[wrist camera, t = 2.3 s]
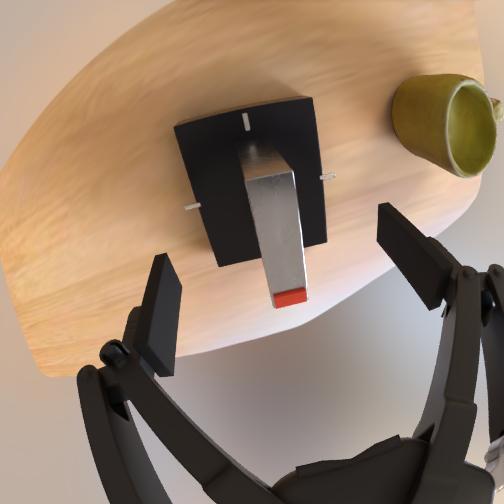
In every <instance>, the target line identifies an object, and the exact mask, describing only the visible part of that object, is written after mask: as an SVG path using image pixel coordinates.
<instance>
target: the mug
mask: <svg viewBox="0 0 504 504" xmlns="http://www.w3.org/2000/svg"><path fill="white" fill-rule="evenodd" d="M391 117H392V123H393V126H394V130H395V133H396V135H397V137H398V138H399V140H400V141H401V143H402V145H403V146H404V147H405V148H406V149H407V150H408V151H410V152H411V153H413V154H414V155H416V156H418V157H421V158H424V159H426V160H428V161H430V162H432V163H434V164H436V165H437V166H439V167H441V168H443V169H445V170H446V171H448V172H450V173H452V174H454V175H456V176H458V177H461V178H473V177H475V176H478V175H479V174H481V173H482V172H483V171H484V170H485V169H486V167H487V166H488V164H489V163H490V161H491V159H492V157H493V155H494V151H495V147H496V141H497V128H496V122H500V121H501V120H502V119H503V117H504V114H503V109H502V103H501V102H500V101H499V100H496V99H493V98H489V96H488V94H487V92H486V90H485V88H484V87H483V86H482V85H481V84H480V83H479V82H478V81H476V80H475V79H473V78H470V77H467V76H463V75H458V74H440V75H423V76H417V77H413V78H411V79H409V80H407V81H405V82H404V83H403V84H402V85H401V86H400V87H399V88H398V90H397V91H396V93H395V96H394V99H393V104H392V112H391Z"/></svg>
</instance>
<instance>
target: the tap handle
mask: <svg viewBox="0 0 504 504" xmlns="http://www.w3.org/2000/svg"><path fill="white" fill-rule="evenodd" d="M235 145H236V149H237V153H238V158H239V162H240V166H241V170H242V175H243V179H244V183H245V187H246V192H247V196H248V200H249V205H250V209H251V213H252V218H253V222H254V226H255V231H256V235H257V239H258V244H259V248H260V252H261V256H262V261H263V265H264V269H265V274H266V278H267V282H268V287H269V291H270V295H271V300H272V304H273V307H274V308H276V309H277V308H281V307H285V306H290V305H294V304H298V303H302V302H306V301H307V300H308V290H307V279H306V268H305V259H304V249H303V240H302V232H301V223H300V215H299V208H298V200H297V193H296V186H295V179H294V172H293V170H292V169H291V167H290V166H289V165H288V164H287V162H286V161H285V160H284V159H283V157H282V156H281V155H280V154H279V152H278V151H277V150H276V149H275V147H274V146H273V145H272V144H271V143H270V141H269V140H268V139H267V138H266V137H265V136H261V137H256V138H251V139H247V140H242V141H238V142H235Z"/></svg>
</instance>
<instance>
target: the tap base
mask: <svg viewBox="0 0 504 504" xmlns="http://www.w3.org/2000/svg"><path fill="white" fill-rule="evenodd" d="M173 128H174V131H175V135H176V138H177V141H178V145H179V148H180V151H181V154H182V158H183V161H184V164H185V167H186V171H187V174H188V177H189V180H190V183H191V186H192V190H193V193H194V196H195V199H196V202H197V203H194V204H191V205H187V206H184V208H185V210H189V209H193V208H197V207H198V208H199V211H200V214H201V217H202V220H203V223H204V226H205V229H206V232H207V235H208V238H209V241H210V244H211V247H212V250H213V252H214V255H215V258H216V261H217V264H218V267H222V266H227V265H231V264H236V263H240V262H244V261H249V260H253V259H258V258H262V256H261V252H260V248H259V244H258V239H257V235H256V231H255V226H254V222H253V218H252V213H251V209H250V205H249V200H248V196H247V192H246V187H245V183H244V179H243V175H242V170H241V166H240V162H239V158H238V153H237V149H236V145H235V142H238V141H242V140H247V139H251V138H256V137H261V136H265V137H266V138H267V139H268V140H269V141H270V143H271V144H272V145H273V146H274V147H275V149H276V150H277V151H278V152H279V154H280V155H281V156H282V157H283V159H284V160H285V161H286V162H287V164H288V165H289V166H290V167H291V169H292V170H293V172H294V179H295V186H296V193H297V200H298V208H299V215H300V223H301V232H302V240H303V248H305V247H310V246H314V245H318V244H322V243H327V227H326V212H325V199H324V187H323V179H327V178H333V177H335V173H330V174H325V175H322V166H321V157H320V149H319V140H318V133H317V125H316V118H315V111H314V105H313V99H312V97H307V96H297V97H290V98H283V99H277V100H271V101H265V102H259V103H254V104H249V105H244V106H239V107H235V108H230V109H226V110H222V111H218V112H214V113H210V114H206V115H202V116H198V117H195V118H191V119H188V120H184V121H181V122H178V123H177V124H176V125H175V126H174V127H173Z"/></svg>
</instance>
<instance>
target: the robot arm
mask: <svg viewBox="0 0 504 504" xmlns="http://www.w3.org/2000/svg"><path fill="white" fill-rule="evenodd" d="M377 242H378V243H379V245H380V246H381V247H382V248H383V250H384V251H385V252H386V253H387V255H388V256H389V257H390V258H391V260H392V261H393V262H394V263H395V265H396V266H397V267H398V268H399V270H400V271H401V272H402V274H403V275H404V276H405V278H406V279H407V280H408V282H409V283H410V284H411V286H412V287H413V288H414V290H415V291H416V293H417V294H418V295H419V297H420V298H421V299H422V301H423V302H424V304H425V305H426V307H427V308H428V310H429V311H430V310H433V309H435V308H438V307H440V305H441V302H442V300H443V298H444V300H445V301H446V306H445V308H444V311H443V313H442V316H441V317H443V316H444V319H443V327H442V333H441V340H440V346H439V351H438V356H437V361H436V366H435V370H434V375H433V379H432V383H431V387H430V391H429V394H428V398H427V401H426V405H425V408H424V411H423V414H422V417H421V420H420V422H419V424H418V426H417V428H416V429H415V431H414V434H413V436H412V438H409V437H406V438H400V436H399V434H398V435H396V436H394V437H391V438H389V439H386V440H384V441H381V442H379V443H376V444H374V445H373V446H371V447H370V448H368V449H367V450H365V451H363V452H362V453H360V454H359V455H357V456H355V457H353V458H351V459H343V460H327V461H319V462H315V463H311V464H306V465H302V466H297V467H296V470H295V471H293V472H291V473H289V474H287V475H285V476H284V477H283V478H281V479H280V480H279V481H278V482H276V483H275V484H274V486H273V487H272V488H271V487H270V486H268V485H267V484H266V483H265V482H263V481H262V480H260V479H259V478H258V477H256V476H255V475H254V474H252V473H251V472H249V471H248V470H247V469H245V468H244V467H243V466H242V465H241V464H239V463H238V462H237V461H236V460H235V459H233V458H232V457H231V456H230V455H229V454H227V453H226V452H225V451H224V450H223V449H222V448H221V447H220V446H218V445H217V444H216V443H215V442H214V441H213V440H212V439H211V438H210V437H209V436H208V435H207V434H206V433H204V432H203V431H202V430H201V429H200V428H199V427H198V426H197V425H196V424H195V423H194V422H193V421H192V420H191V419H190V418H189V417H188V416H187V415H186V414H185V412H183V410H182V409H181V408H180V407H179V406H178V405H177V404H176V403H175V402H174V401H173V400H172V399H171V397H170V396H169V395H168V394H167V393H166V392H165V391H164V390H163V388H162V387H161V386H160V385H159V384H158V383H157V382H156V380H155V379H154V373H155V372H156V373H157V375H158V376H159V377H168V376H174V365H175V352H176V341H177V330H178V320H179V311H180V302H181V293H182V285H181V283H180V281H179V279H178V276H177V274H176V272H175V270H174V268H173V266H172V264H171V261H170V259H169V257H168V255H167V253H163V254H159V255H155V258H154V261H153V264H152V268H151V271H150V275H149V278H148V282H147V286H146V289H145V293H144V297H143V301H142V305H141V306H138V307H134V308H133V309H132V311H131V312H130V314H129V316H128V320H127V324H126V327H125V331H124V335H123V339H122V342H121V341H120V340H116V339H114V340H110V341H109V342H107V343H106V344H105V345H104V346H103V347H102V348H101V350H100V355H99V356H100V360H101V361H102V362H103V363H104V364H105V365H106V366H104V367H102V368H99V369H97V368H95V367H94V366H93V365H86V366H84V367H83V368H81V369H80V371H79V372H78V375H77V386H78V393H79V398H80V404H81V409H82V414H83V419H84V423H85V428H86V432H87V435H88V440H89V443H90V447H91V451H92V454H93V457H94V461H95V464H96V467H97V470H98V473H99V476H100V479H101V482H102V485H103V487H104V490H105V492H106V495H107V498H108V500H109V502H110V504H172V502H171V500H170V498H169V497H168V495H167V493H166V491H165V489H164V487H163V485H162V484H161V482H160V480H159V478H158V476H157V474H156V472H155V470H154V467H153V465H152V463H151V461H150V459H149V457H148V455H147V452H146V450H145V448H144V445H143V443H142V441H141V438H140V436H139V433H138V431H137V428H136V426H135V423H134V420H133V418H132V415H131V412H130V409H129V406H128V404H127V400H130V401H131V402H132V404H133V405H134V406H135V408H136V409H137V411H138V412H139V413H140V415H141V416H142V418H143V419H144V420H145V421H146V423H147V424H148V425H149V427H150V428H151V429H152V431H153V432H154V433H155V434H156V436H157V437H158V438H159V439H160V441H161V442H162V443H163V444H164V445H165V446H166V448H167V449H168V450H169V451H170V452H171V453H172V455H173V456H174V457H175V458H176V459H177V460H178V461H179V462H180V463H181V465H183V467H184V468H185V469H186V470H187V471H188V472H189V473H190V474H191V475H192V476H193V477H194V478H195V479H196V480H197V481H198V482H199V483H200V484H201V485H202V488H203V490H204V492H205V493H206V494H207V495H208V496H209V497H210V498H211V499H212V500H213V501H214V502H215V503H217V504H493V500H494V496H495V493H497V492H498V491H500V490H501V489H502V488H504V268H503V267H501V266H500V265H497V264H492V265H490V266H489V269H488V271H487V272H480V273H478V272H477V271H476V270H475V269H474V268H472V267H470V266H462V265H461V264H460V263H459V262H458V261H457V260H456V259H455V258H454V256H453V255H452V254H451V253H450V252H448V250H447V249H446V248H445V247H443V245H442V244H441V243H440V242H439V241H438V240H436V239H434V238H432V237H426V236H425V235H423V234H422V233H421V232H420V231H419V230H418V229H417V228H416V227H415V226H414V225H413V224H412V223H411V222H410V221H409V220H408V219H407V218H406V217H404V216H403V215H402V214H401V213H400V212H399V211H398V210H397V209H396V208H394V207H393V206H392V205H391V204H390V203H389V202H387V203H382V204H378V226H377ZM480 336H481V342H482V347H483V354H484V361H485V369H486V378H487V389H488V410H489V435H490V443H491V445H490V447H489V449H488V452H487V453H486V454H485V457H484V459H485V462H486V463H487V464H486V468H485V469H483V468H480V467H478V466H476V465H473V464H471V463H469V462H467V461H465V457H466V454H467V450H468V447H469V443H470V440H471V436H472V432H473V428H474V423H475V419H476V414H477V405H476V404H475V403H474V393H475V388H476V381H477V373H478V364H479V353H480Z"/></svg>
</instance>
